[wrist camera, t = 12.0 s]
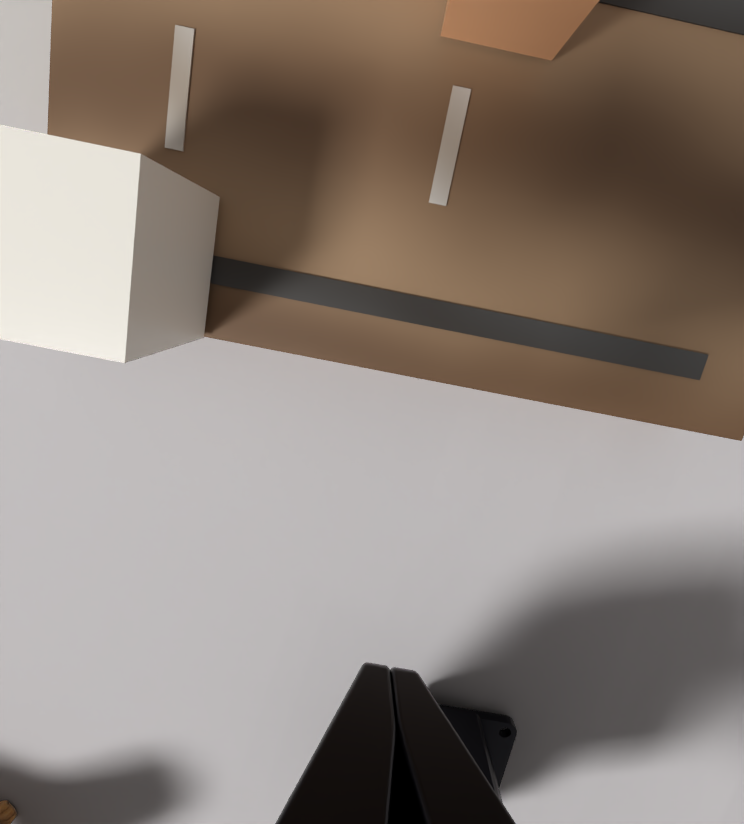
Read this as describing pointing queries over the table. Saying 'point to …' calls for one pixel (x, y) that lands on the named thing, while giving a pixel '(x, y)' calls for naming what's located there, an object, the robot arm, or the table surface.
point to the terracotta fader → (516, 23)
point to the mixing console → (449, 188)
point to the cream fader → (100, 249)
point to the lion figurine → (7, 812)
